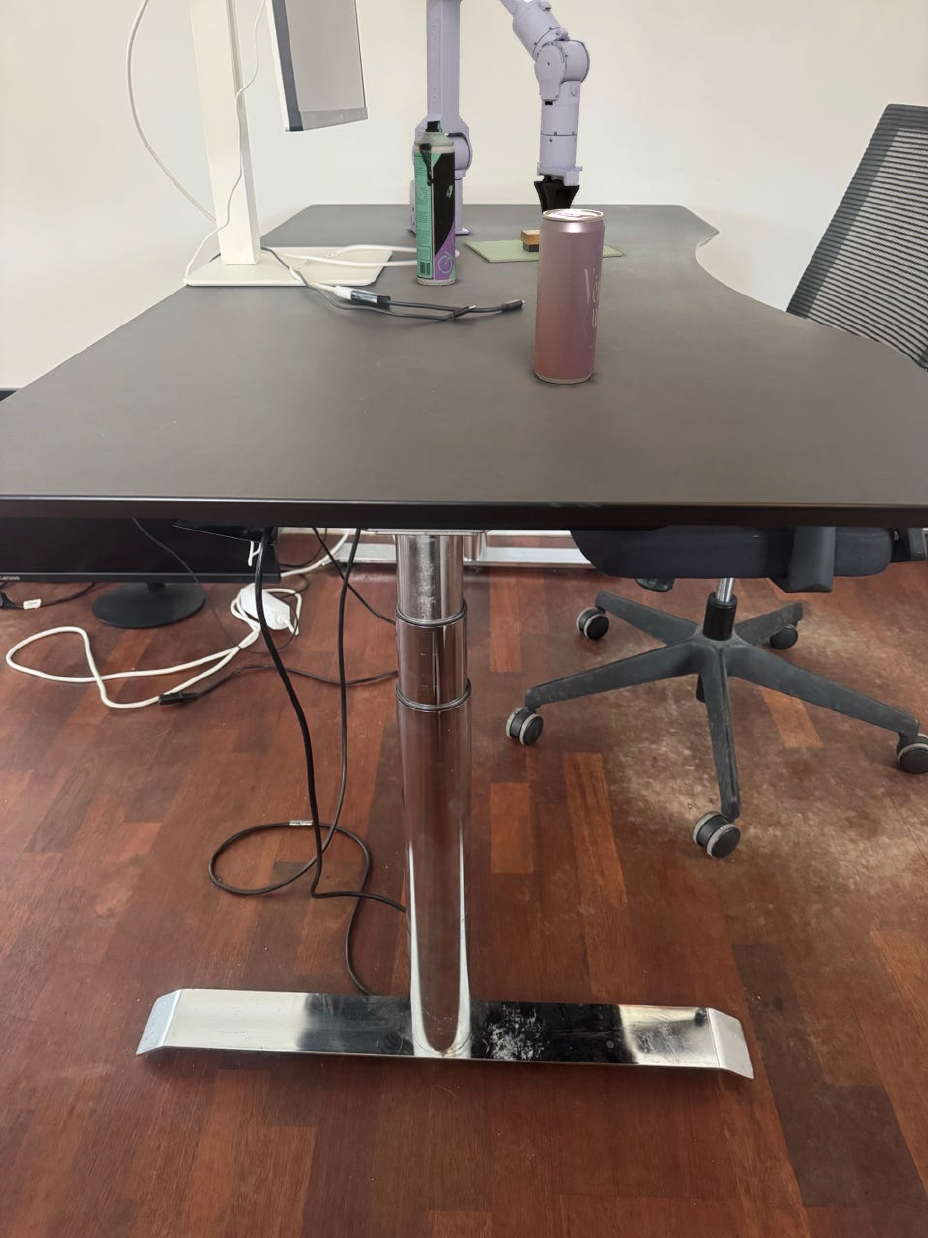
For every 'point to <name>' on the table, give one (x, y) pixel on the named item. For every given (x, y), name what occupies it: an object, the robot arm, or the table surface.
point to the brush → (530, 240)
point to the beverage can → (568, 294)
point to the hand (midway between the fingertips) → (554, 229)
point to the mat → (515, 251)
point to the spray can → (435, 206)
